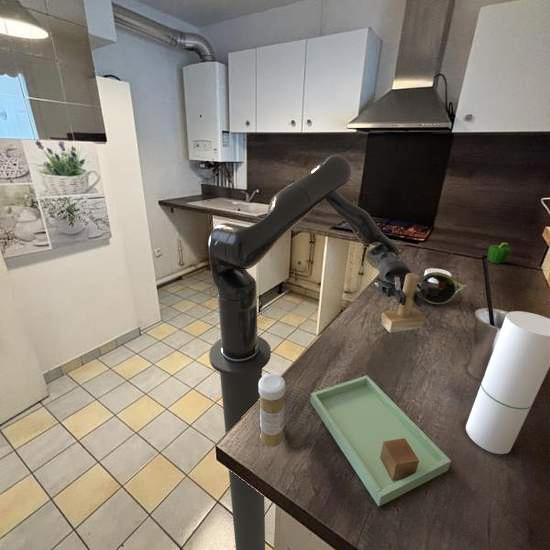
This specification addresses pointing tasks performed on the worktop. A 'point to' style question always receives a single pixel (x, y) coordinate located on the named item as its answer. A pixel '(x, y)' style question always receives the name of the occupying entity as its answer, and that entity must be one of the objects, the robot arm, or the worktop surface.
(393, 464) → the cork cube
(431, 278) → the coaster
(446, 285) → the pot
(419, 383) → the worktop surface
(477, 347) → the glass
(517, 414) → the cylindrical container
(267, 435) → the sprinkles bottle
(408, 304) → the wooden stamp
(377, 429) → the tray
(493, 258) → the bell pepper
